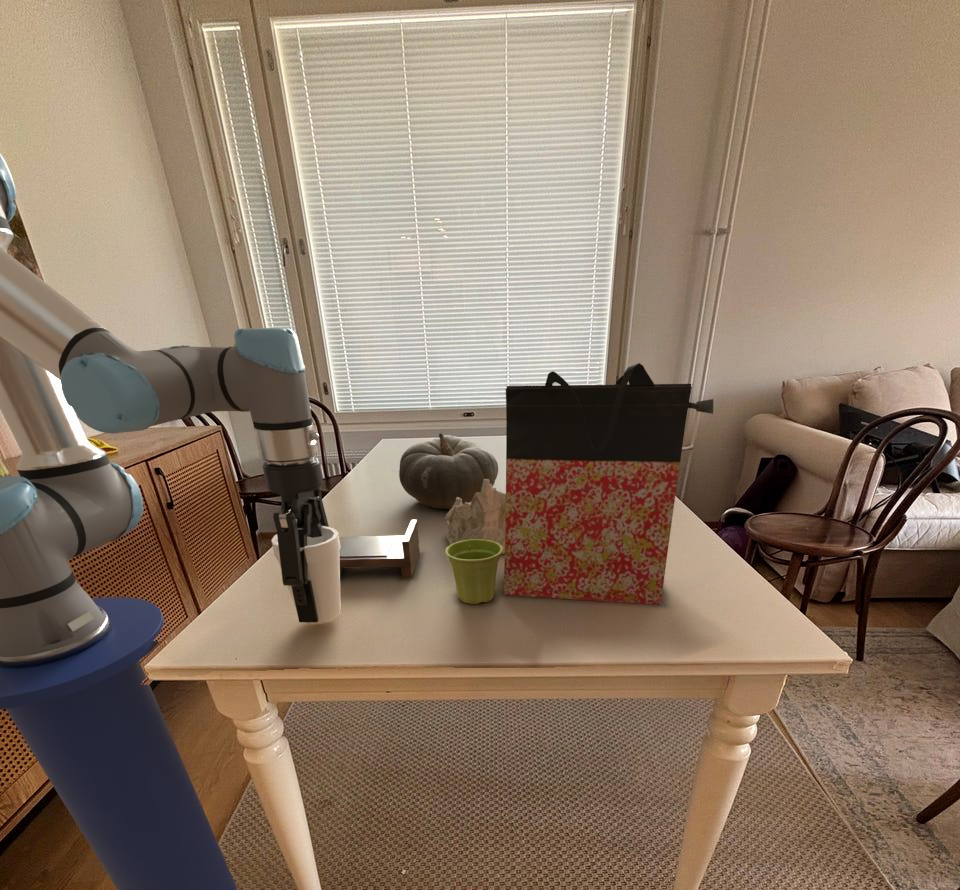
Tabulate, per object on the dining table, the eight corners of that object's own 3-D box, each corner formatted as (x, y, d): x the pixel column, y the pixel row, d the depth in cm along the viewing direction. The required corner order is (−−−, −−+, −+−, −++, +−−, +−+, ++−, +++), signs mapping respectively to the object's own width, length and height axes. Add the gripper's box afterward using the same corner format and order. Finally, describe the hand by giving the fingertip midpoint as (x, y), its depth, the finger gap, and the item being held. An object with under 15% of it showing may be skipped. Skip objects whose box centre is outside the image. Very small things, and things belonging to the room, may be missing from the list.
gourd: (453, 472, 155) (452, 411, 143) (517, 502, 142) (522, 437, 130) (384, 501, 141) (376, 435, 130) (448, 537, 129) (446, 468, 117)
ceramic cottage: (541, 544, 111) (538, 470, 103) (471, 564, 105) (462, 486, 98) (505, 527, 123) (500, 460, 116) (440, 544, 117) (430, 474, 110)
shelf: (326, 580, 100) (319, 543, 96) (342, 555, 110) (336, 521, 106) (412, 578, 99) (408, 541, 95) (420, 553, 109) (417, 519, 105)
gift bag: (500, 602, 89) (497, 368, 71) (513, 568, 101) (514, 360, 83) (685, 615, 84) (732, 364, 66) (676, 577, 96) (714, 356, 78)
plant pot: (439, 604, 90) (435, 556, 85) (462, 582, 97) (459, 536, 92) (490, 613, 86) (489, 563, 82) (511, 589, 94) (510, 542, 89)
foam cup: (278, 627, 82) (259, 546, 75) (304, 599, 90) (288, 524, 83) (338, 630, 81) (323, 549, 74) (358, 602, 88) (347, 526, 82)
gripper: (291, 480, 63) (322, 642, 75) (338, 442, 82) (357, 576, 94) (228, 480, 63) (269, 642, 75) (289, 442, 82) (315, 576, 94)
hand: (318, 605), depth 84 cm, fingers closed on foam cup, 9 cm apart
